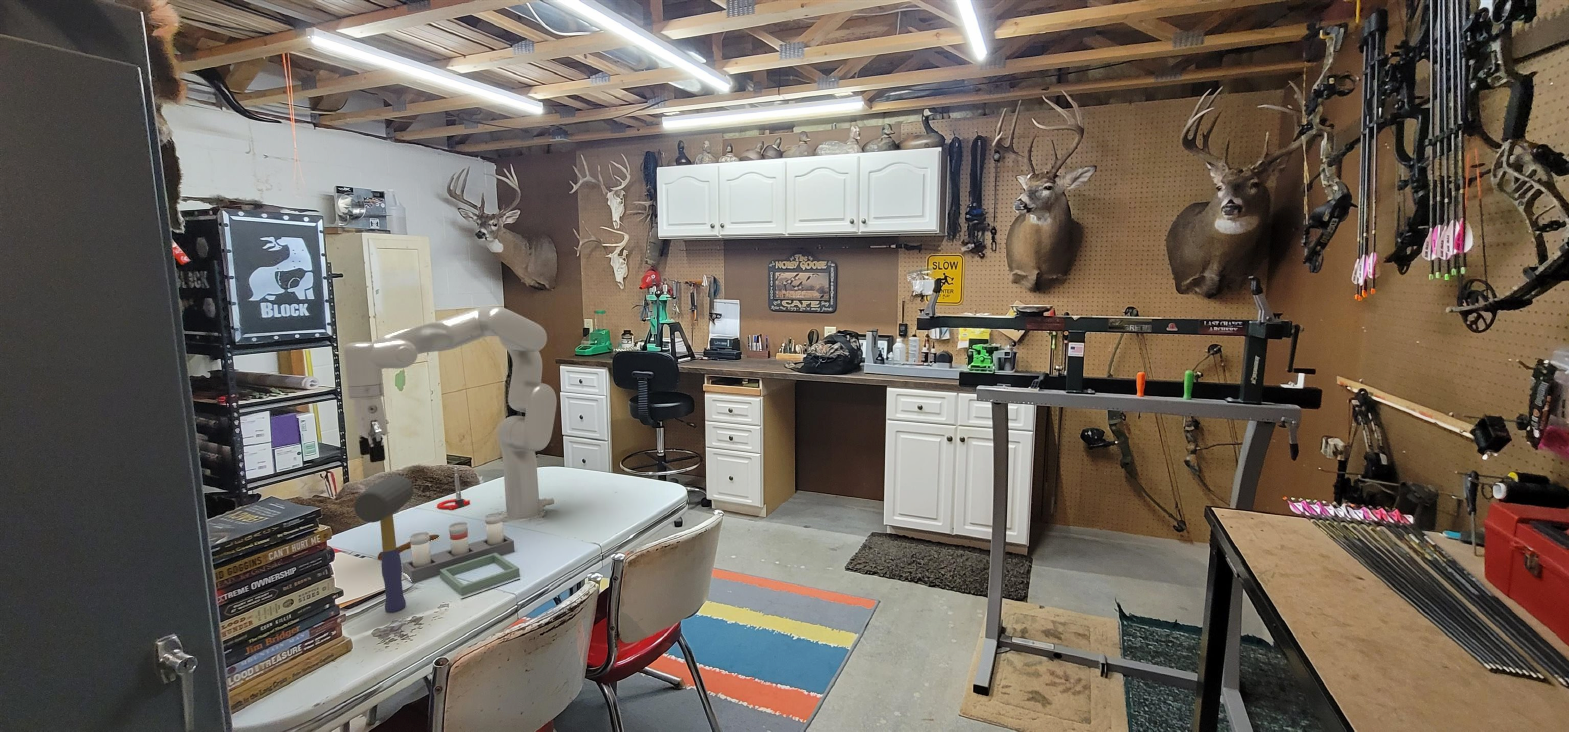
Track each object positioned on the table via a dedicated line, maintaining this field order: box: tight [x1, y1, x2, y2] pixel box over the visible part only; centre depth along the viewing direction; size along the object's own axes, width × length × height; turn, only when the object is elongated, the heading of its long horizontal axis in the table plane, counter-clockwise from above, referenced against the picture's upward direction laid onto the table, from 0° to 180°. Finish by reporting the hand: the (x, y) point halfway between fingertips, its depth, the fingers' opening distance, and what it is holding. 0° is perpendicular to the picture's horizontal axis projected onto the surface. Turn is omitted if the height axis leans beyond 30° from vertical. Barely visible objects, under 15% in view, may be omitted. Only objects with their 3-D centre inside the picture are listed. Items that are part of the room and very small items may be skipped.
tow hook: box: [436, 467, 471, 511], centre depth 214 cm, size 8×13×9 cm
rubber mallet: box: [353, 475, 415, 613], centre depth 143 cm, size 12×8×30 cm, turn 5°
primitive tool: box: [377, 533, 440, 561], centre depth 179 cm, size 19×6×4 cm, turn 173°
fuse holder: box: [401, 533, 515, 584], centre depth 168 cm, size 25×7×4 cm, turn 136°
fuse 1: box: [409, 531, 432, 569], centre depth 161 cm, size 4×4×10 cm
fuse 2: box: [484, 512, 504, 546], centre depth 173 cm, size 4×4×10 cm
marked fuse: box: [448, 521, 469, 557], centre depth 167 cm, size 4×4×10 cm
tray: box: [439, 553, 521, 601], centre depth 159 cm, size 14×14×3 cm
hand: (372, 457), depth 166 cm, fingers open, 9 cm apart
